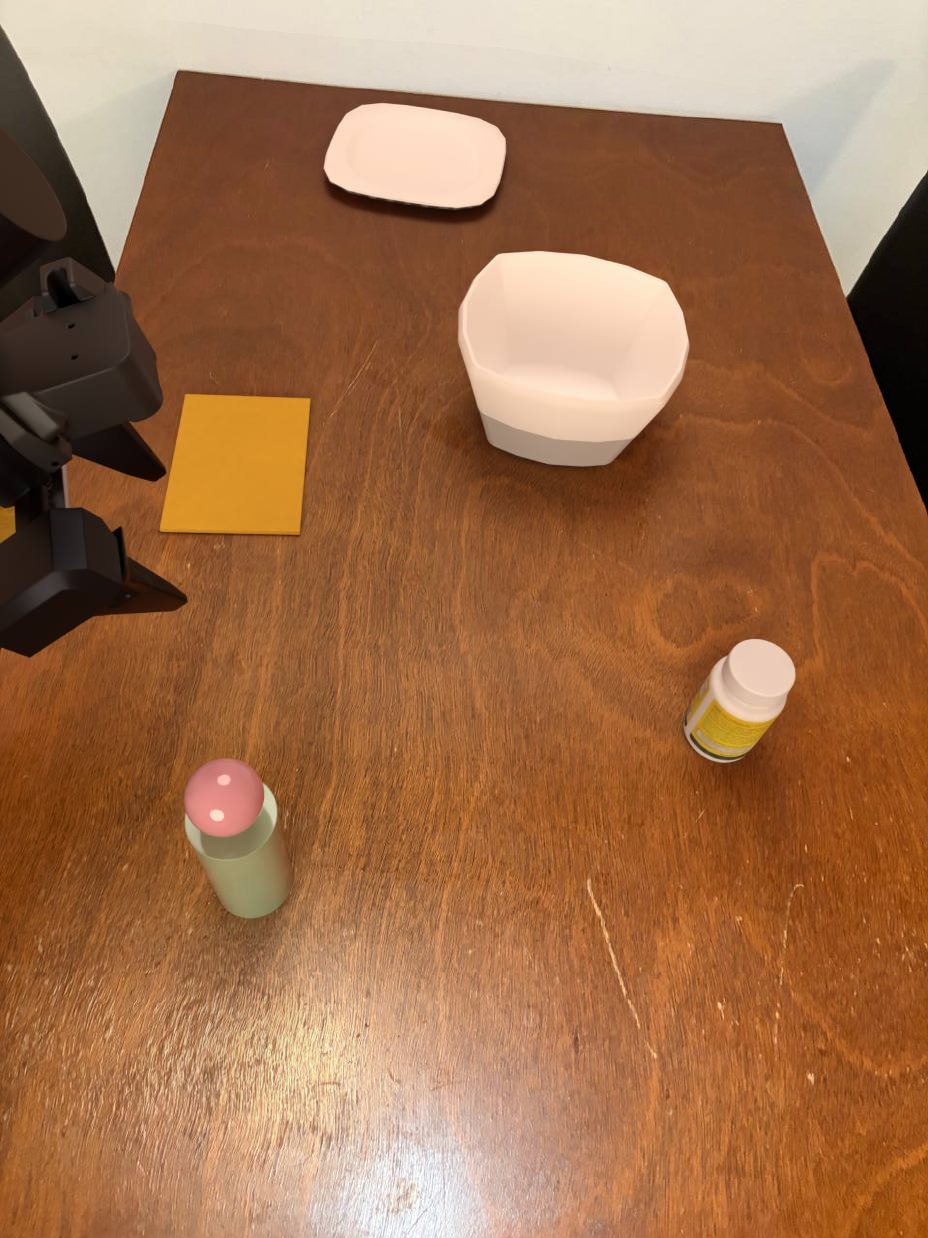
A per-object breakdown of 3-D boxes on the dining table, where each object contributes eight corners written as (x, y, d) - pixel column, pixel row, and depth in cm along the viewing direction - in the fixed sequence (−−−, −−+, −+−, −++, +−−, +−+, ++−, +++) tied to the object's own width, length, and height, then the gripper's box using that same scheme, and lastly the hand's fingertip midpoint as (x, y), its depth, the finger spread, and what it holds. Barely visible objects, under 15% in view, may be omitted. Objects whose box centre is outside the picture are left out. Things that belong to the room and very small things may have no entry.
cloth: (300, 535, 65) (299, 531, 65) (160, 531, 64) (159, 528, 64) (310, 401, 73) (310, 398, 73) (186, 397, 72) (185, 393, 72)
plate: (312, 200, 89) (311, 184, 87) (350, 110, 99) (349, 94, 97) (491, 229, 88) (493, 213, 87) (510, 135, 99) (512, 119, 97)
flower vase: (251, 935, 49) (213, 850, 38) (198, 882, 51) (146, 784, 39) (309, 877, 51) (290, 779, 40) (257, 827, 53) (224, 718, 41)
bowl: (661, 362, 79) (693, 270, 72) (656, 511, 69) (691, 422, 62) (465, 329, 80) (475, 233, 72) (432, 473, 70) (439, 379, 62)
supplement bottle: (762, 760, 58) (815, 699, 51) (693, 768, 57) (738, 707, 50) (738, 696, 61) (785, 629, 54) (673, 703, 60) (712, 636, 53)
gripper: (39, 430, 29) (323, 603, 42) (19, 128, 39) (255, 343, 51) (-179, 593, 32) (147, 708, 45) (-147, 276, 42) (114, 445, 54)
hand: (170, 536), depth 49 cm, fingers open, 9 cm apart
